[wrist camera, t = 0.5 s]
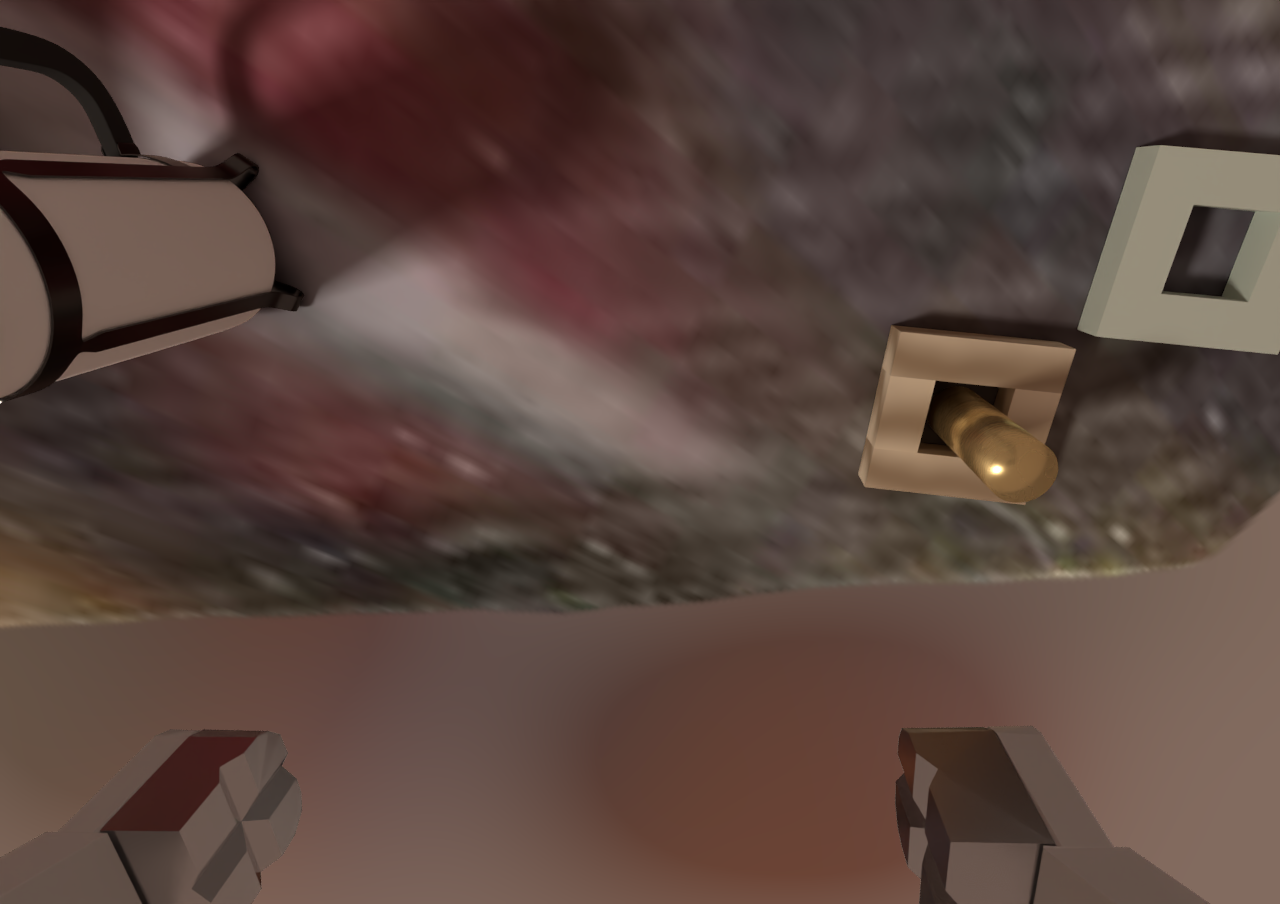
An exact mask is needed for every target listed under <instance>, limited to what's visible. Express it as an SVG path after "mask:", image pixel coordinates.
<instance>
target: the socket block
mask: <svg viewBox="0 0 1280 904" xmlns="http://www.w3.org/2000/svg"><path fill="white" fill-rule="evenodd" d="M1193 206H1199V207H1210V208H1222V209H1233V210H1244V211H1255V214H1254V216H1253V219H1252V221H1251V224H1250V226H1249V229H1248V231H1247V234H1246V236H1245V239H1244V241H1243V244H1242V246H1241V249H1240V251H1239V254H1238V257H1237V259H1236V262H1235V264H1234V267H1233V269H1232V272H1231V274H1230V277H1229V279H1228V282H1227V284H1226V287H1225V289H1224V292H1223V294H1222V297H1221V296H1210V295H1200V294H1189V293H1179V292H1168V291H1162V290H1163V288H1164V285H1165V282H1166V279H1167V277H1168V274H1169V271H1170V268H1171V266H1172V263H1173V260H1174V257H1175V255H1176V252H1177V249H1178V247H1179V244H1180V241H1181V238H1182V236H1183V233H1184V230H1185V227H1186V225H1187V222H1188V219H1189V216H1190V214H1191V211H1192V208H1193ZM1077 330H1080V331H1083V332H1085V333H1088V334H1091V335H1093V336H1096V337H1106V338H1116V339H1126V340H1136V341H1146V342H1156V343H1166V344H1177V345H1187V346H1197V347H1207V348H1217V349H1227V350H1237V351H1247V352H1257V353H1267V354H1278V353H1279V351H1280V155H1271V154H1259V153H1247V152H1236V151H1224V150H1212V149H1200V148H1189V147H1177V146H1165V145H1156V146H1146V147H1136V150H1135V153H1134V156H1133V159H1132V162H1131V166H1130V169H1129V172H1128V175H1127V178H1126V181H1125V184H1124V187H1123V190H1122V193H1121V196H1120V199H1119V202H1118V205H1117V209H1116V212H1115V215H1114V218H1113V221H1112V224H1111V227H1110V230H1109V233H1108V236H1107V239H1106V242H1105V245H1104V248H1103V251H1102V255H1101V258H1100V261H1099V264H1098V267H1097V270H1096V273H1095V276H1094V279H1093V282H1092V285H1091V288H1090V291H1089V294H1088V297H1087V301H1086V304H1085V307H1084V310H1083V313H1082V316H1081V319H1080V322H1079V325H1078V328H1077Z"/></svg>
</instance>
